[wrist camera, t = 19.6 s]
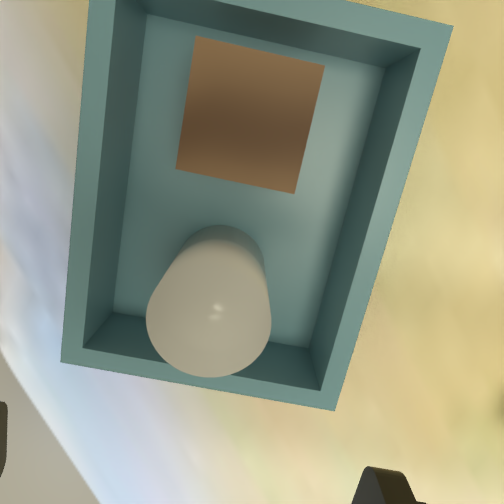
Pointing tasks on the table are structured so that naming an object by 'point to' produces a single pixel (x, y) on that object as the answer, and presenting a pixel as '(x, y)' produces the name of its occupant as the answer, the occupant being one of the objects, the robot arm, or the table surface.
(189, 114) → the walnut cube
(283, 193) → the tote
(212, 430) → the table surface
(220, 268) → the ceramic capsule
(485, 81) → the table surface
